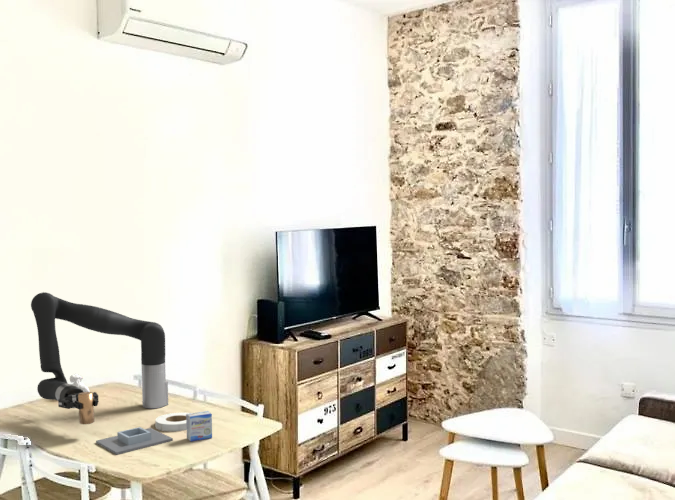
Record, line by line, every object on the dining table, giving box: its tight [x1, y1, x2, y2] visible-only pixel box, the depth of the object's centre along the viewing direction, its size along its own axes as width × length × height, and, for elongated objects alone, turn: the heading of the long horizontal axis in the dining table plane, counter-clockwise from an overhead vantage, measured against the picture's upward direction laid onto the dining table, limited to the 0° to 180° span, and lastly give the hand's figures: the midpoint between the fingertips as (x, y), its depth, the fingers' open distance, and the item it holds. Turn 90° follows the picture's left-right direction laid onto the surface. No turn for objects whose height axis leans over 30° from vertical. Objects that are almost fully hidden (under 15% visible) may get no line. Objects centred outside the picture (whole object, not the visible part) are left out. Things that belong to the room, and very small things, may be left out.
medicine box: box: [186, 410, 213, 442], centre depth 240 cm, size 8×4×9 cm, turn 117°
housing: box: [95, 426, 174, 456], centre depth 237 cm, size 20×16×3 cm
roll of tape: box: [154, 412, 191, 432], centre depth 255 cm, size 16×15×3 cm
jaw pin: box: [78, 391, 95, 425], centre depth 241 cm, size 5×5×10 cm
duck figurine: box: [69, 373, 91, 392], centre depth 294 cm, size 12×8×11 cm
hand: (88, 404), depth 240 cm, fingers closed on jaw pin, 4 cm apart
